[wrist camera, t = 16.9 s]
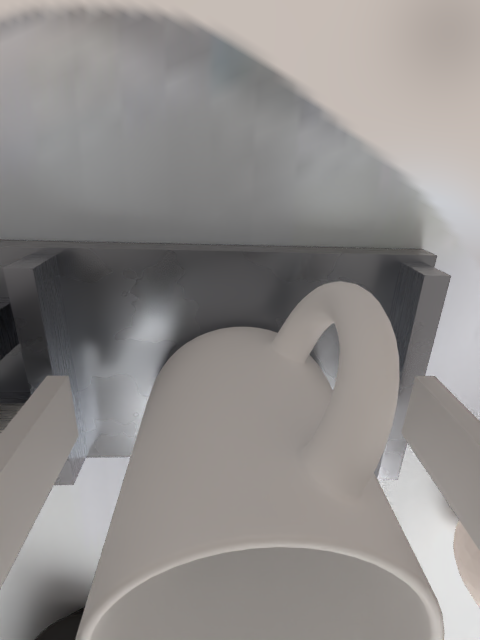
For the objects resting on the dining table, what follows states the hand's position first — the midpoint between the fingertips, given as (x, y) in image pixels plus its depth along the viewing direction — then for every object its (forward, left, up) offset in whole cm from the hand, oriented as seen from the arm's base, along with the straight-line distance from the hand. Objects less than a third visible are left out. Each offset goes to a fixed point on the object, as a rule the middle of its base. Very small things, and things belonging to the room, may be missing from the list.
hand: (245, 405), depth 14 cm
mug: (+1, 0, -3) cm, 3 cm away
